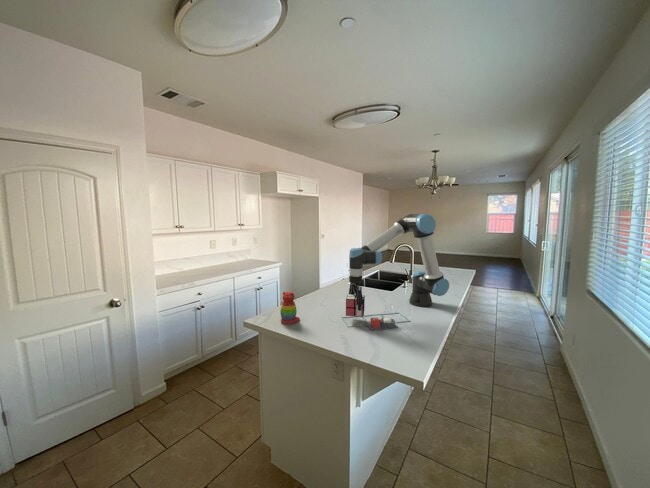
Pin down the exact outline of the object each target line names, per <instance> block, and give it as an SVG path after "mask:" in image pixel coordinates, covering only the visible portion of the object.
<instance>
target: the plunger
mask: <svg viewBox="0 0 650 488" xmlns="http://www.w3.org/2000/svg"><path fill="white" fill-rule="evenodd" d="M391 318H392V317H385V318H384V319H383V322H387V323H389V322H392V319H393V318H392V319H391Z"/></svg>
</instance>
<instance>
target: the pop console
mask: <svg viewBox="0 0 650 488" xmlns="http://www.w3.org/2000/svg"><path fill="white" fill-rule="evenodd" d="M390 318H391V319H392V322H389V323H387V322H383V319H384V318H383V317H382V318H379V317H377V316H376V317H370V321H369V322H370V323H369V324H368V323H367V324H366V325H368V328H369V329H370V330H371V331H381V330H382V331H384V330H394V329H399V326H397V324H396V323H395V322H396V320H395V319H393V318H392V317H390Z"/></svg>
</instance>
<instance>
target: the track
mask: <svg viewBox="0 0 650 488" xmlns="http://www.w3.org/2000/svg"><path fill="white" fill-rule="evenodd" d="M395 314H399V315H400V316H401V317H403V318H404V319H405V320H404V321H403V320H402V321H395V324H400V323H410V322H411V320H410V319H408V318H407V317H406V316H404V315H403V314H402V313H400V312H388V315H395ZM384 315H385V316H386V315H387V313H380V314H379V313H377V314H367V315H365V314H364V317H371V316H374V317H375V316H381V317H382V318H386V317H384ZM364 317H361V318H362V319H363V320H364V322H366V323H367V324H370V323H369V321H367V320H366V319H365V318H364ZM345 318H356V317H355V316H342V317H341V320H342V321H343V322H344V324H345V325H346V326H347V328H355V327H356V328H357V327H365V326H366V327H367V326H368V325H367V324H360V325H351V326H350V325H348V323H347V321H346V320H345Z"/></svg>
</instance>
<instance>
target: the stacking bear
mask: <svg viewBox="0 0 650 488" xmlns="http://www.w3.org/2000/svg"><path fill="white" fill-rule="evenodd" d="M282 300H283V301H282V302H281V306H280V309H279V310H280V311H279V313H280V323H281V324H282V325H288V326H289V325H294V324H297V323H298V322H300V320H301V318H300V317H299V316H297V312H298V311H297V310H298V309H297V305H296V302H295V301H294V300H295V294H294V292H291V291H286V292H285V291H283V292H282Z"/></svg>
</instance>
